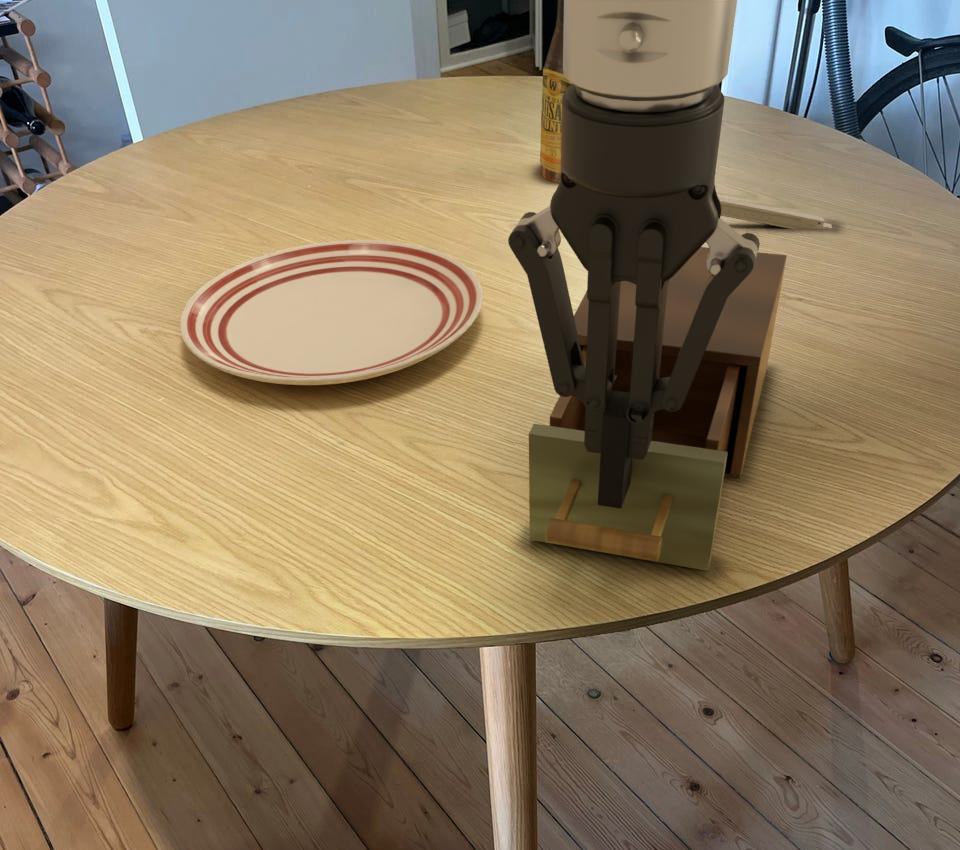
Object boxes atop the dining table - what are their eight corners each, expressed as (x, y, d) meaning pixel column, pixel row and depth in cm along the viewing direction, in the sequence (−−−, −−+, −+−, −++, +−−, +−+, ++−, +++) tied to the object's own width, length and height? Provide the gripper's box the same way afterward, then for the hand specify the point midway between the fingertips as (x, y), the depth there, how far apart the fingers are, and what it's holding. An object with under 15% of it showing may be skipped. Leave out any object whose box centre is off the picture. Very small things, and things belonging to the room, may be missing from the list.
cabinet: (739, 484, 76) (761, 357, 68) (562, 457, 79) (564, 333, 72) (765, 376, 86) (786, 254, 79) (607, 356, 90) (613, 237, 82)
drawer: (693, 629, 64) (709, 520, 58) (505, 594, 67) (501, 486, 61) (738, 448, 78) (756, 343, 71) (580, 425, 81) (583, 323, 74)
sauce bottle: (529, 179, 117) (527, -21, 103) (565, 163, 120) (568, -34, 106) (571, 194, 114) (576, -11, 100) (607, 177, 117) (617, -25, 103)
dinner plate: (165, 298, 101) (156, 266, 98) (427, 244, 107) (425, 212, 104) (218, 446, 82) (208, 410, 80) (530, 370, 88) (530, 335, 86)
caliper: (632, 233, 107) (636, 171, 102) (632, 229, 107) (636, 167, 103) (833, 234, 104) (846, 171, 100) (832, 230, 105) (845, 167, 101)
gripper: (484, 101, 46) (497, 512, 63) (777, 123, 43) (708, 549, 60) (530, 51, 51) (530, 445, 68) (796, 67, 48) (727, 475, 65)
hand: (614, 493), depth 64 cm, fingers closed
